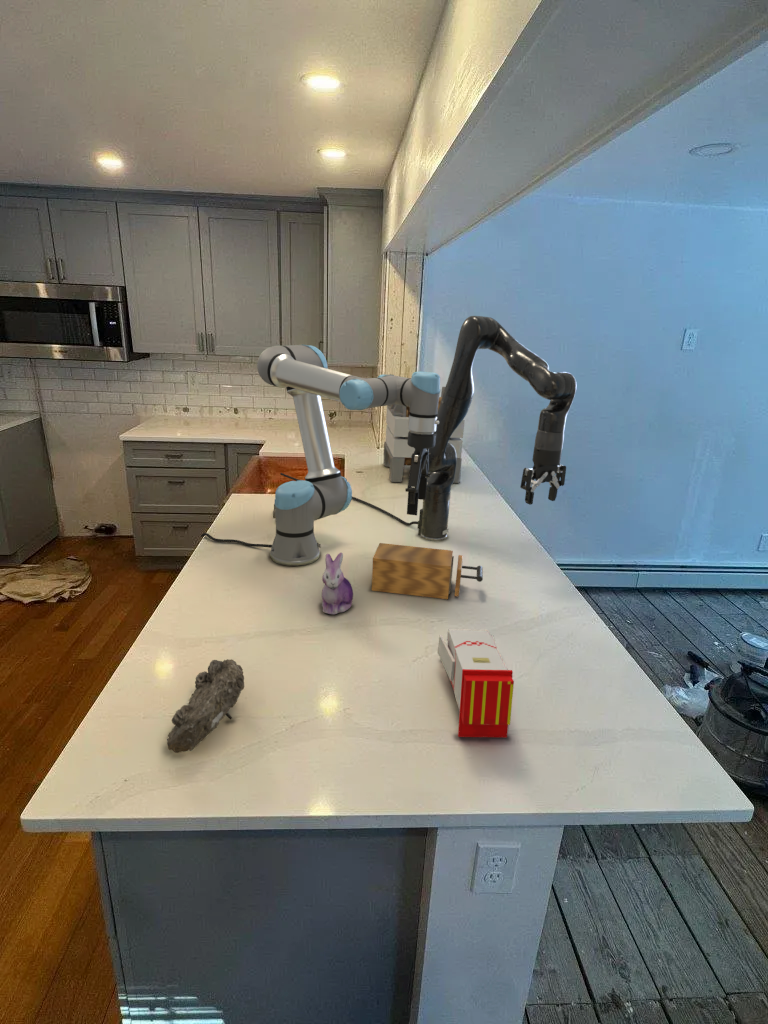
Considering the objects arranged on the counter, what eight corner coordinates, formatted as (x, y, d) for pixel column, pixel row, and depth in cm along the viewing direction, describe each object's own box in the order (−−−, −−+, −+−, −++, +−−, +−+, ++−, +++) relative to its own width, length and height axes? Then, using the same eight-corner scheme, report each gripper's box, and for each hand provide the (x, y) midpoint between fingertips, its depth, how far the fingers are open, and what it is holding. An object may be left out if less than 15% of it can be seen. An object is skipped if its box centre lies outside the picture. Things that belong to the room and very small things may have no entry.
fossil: (192, 660, 117) (244, 628, 112) (224, 691, 120) (276, 661, 115) (142, 746, 98) (202, 712, 93) (182, 779, 101) (242, 748, 96)
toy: (488, 613, 130) (523, 677, 101) (484, 667, 133) (517, 744, 104) (435, 612, 130) (455, 676, 101) (432, 666, 133) (451, 743, 103)
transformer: (382, 463, 289) (386, 382, 275) (445, 464, 293) (451, 384, 279) (390, 482, 257) (394, 392, 243) (460, 483, 261) (468, 394, 247)
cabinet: (450, 581, 166) (452, 550, 163) (447, 599, 156) (450, 566, 153) (378, 573, 169) (379, 542, 166) (371, 590, 159) (372, 557, 156)
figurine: (327, 619, 143) (328, 565, 138) (313, 601, 152) (313, 549, 147) (361, 611, 147) (363, 559, 142) (345, 594, 156) (346, 544, 151)
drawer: (480, 583, 164) (483, 557, 161) (480, 599, 155) (483, 572, 152) (391, 573, 168) (392, 547, 165) (386, 588, 159) (387, 561, 156)
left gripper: (428, 443, 139) (422, 523, 146) (442, 424, 162) (436, 494, 169) (398, 440, 141) (393, 519, 148) (416, 422, 164) (411, 491, 171)
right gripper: (557, 441, 163) (549, 495, 168) (519, 445, 156) (512, 500, 162) (577, 447, 156) (568, 503, 162) (538, 451, 150) (530, 509, 155)
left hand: (416, 506), depth 159 cm, fingers open, 13 cm apart
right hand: (540, 501), depth 162 cm, fingers open, 8 cm apart
